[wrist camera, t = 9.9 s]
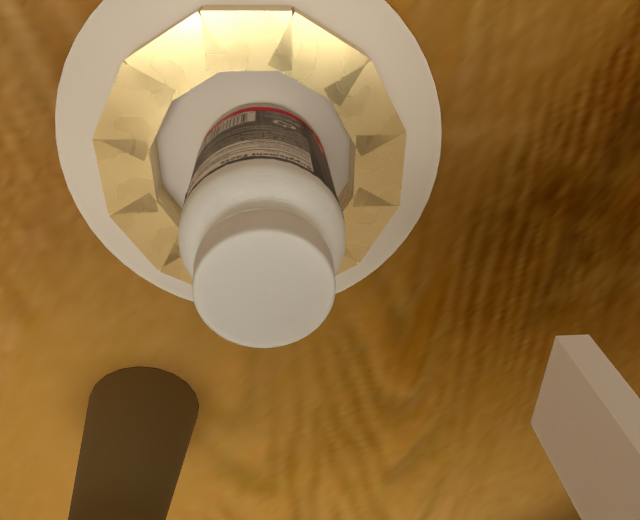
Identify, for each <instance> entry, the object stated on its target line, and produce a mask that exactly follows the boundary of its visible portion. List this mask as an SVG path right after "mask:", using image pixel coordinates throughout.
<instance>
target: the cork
mask: <svg viewBox="0 0 640 520" xmlns="http://www.w3.org/2000/svg"><path fill="white" fill-rule="evenodd" d="M198 408H199V404H198V401H197V397H196V394H195V393H194V391H193V390H192V389H191V388H190V386H189V385H188V384H187V383H186V382H185V381H183V380H182V379H180V378H179V377H177V376H176V375H174V374H172V373H169V372H166V371H163V370H160V369H157V368H147V367H133V368H126V369H120V370H118V371H116V372H113V373H111V374H108V375H106V376H105V377H104V378H103V379H101V380H100V381H99V382H98V383H97V384H96V385H95V387H94V389H93V391H92V393H91V394H90V398H89V403H88V409H87V415H86V421H85V426H84V432H83V438H82V443H81V449H80V455H79V460H78V466H77V472H76V478H75V483H74V489H73V495H72V500H71V506H70V512H69V517H68V520H166V516H167V513H168V510H169V507H170V504H171V500H172V497H173V494H174V491H175V487H176V484H177V481H178V478H179V474H180V471H181V468H182V465H183V461H184V458H185V455H186V452H187V448H188V445H189V442H190V439H191V435H192V432H193V429H194V426H195V422H196V419H197V415H198Z"/></svg>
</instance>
